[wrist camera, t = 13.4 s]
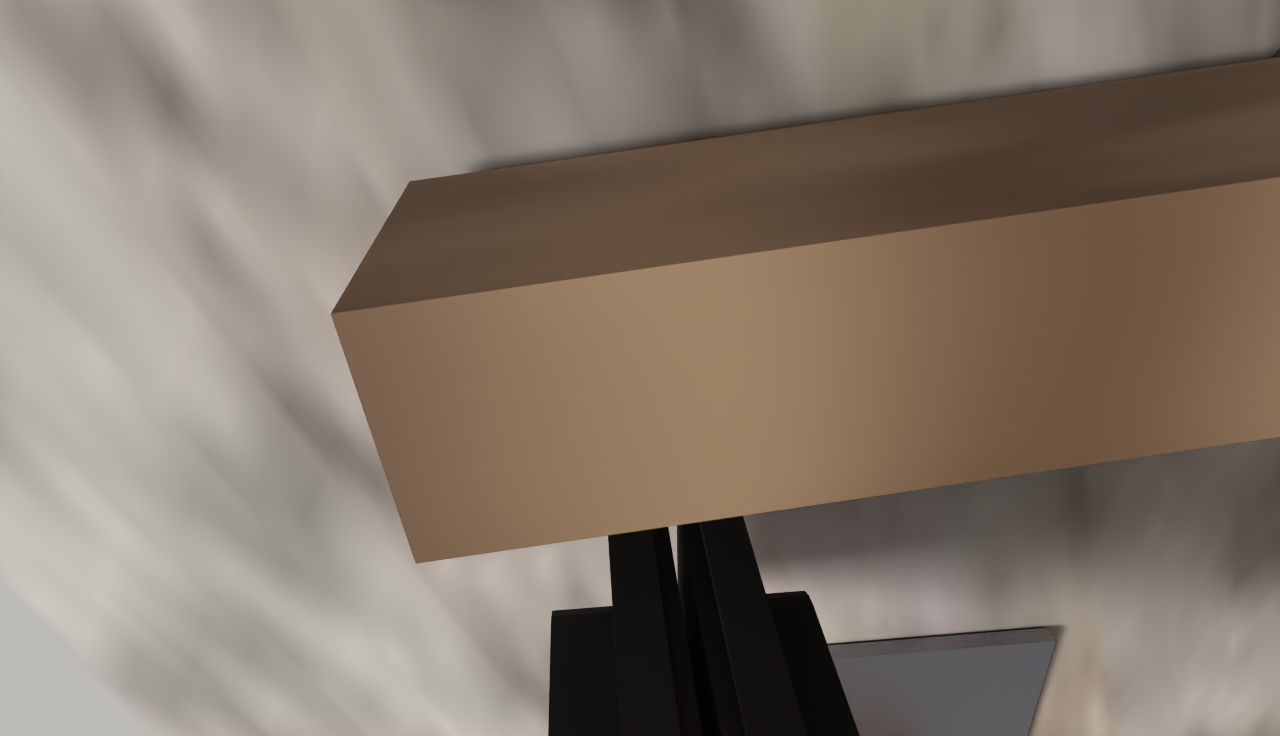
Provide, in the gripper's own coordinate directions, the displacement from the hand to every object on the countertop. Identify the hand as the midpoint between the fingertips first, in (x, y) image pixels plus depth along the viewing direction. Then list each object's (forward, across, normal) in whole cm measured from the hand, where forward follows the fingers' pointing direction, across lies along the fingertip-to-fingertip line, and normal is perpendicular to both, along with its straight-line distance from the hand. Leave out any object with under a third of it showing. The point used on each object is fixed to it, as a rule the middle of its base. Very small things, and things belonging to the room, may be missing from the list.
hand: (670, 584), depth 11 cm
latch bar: (+1, -4, -4) cm, 6 cm away
